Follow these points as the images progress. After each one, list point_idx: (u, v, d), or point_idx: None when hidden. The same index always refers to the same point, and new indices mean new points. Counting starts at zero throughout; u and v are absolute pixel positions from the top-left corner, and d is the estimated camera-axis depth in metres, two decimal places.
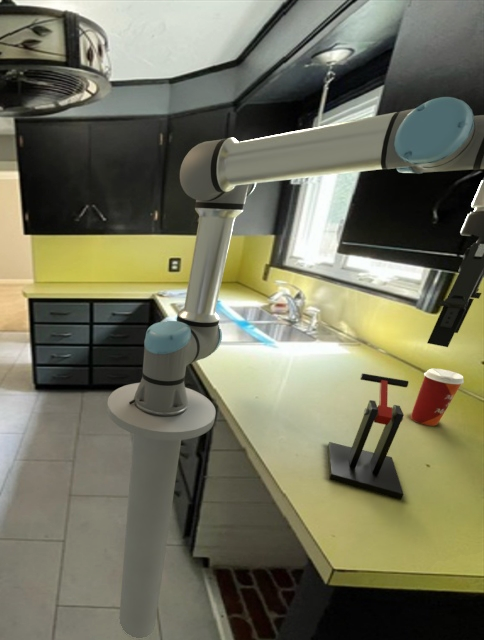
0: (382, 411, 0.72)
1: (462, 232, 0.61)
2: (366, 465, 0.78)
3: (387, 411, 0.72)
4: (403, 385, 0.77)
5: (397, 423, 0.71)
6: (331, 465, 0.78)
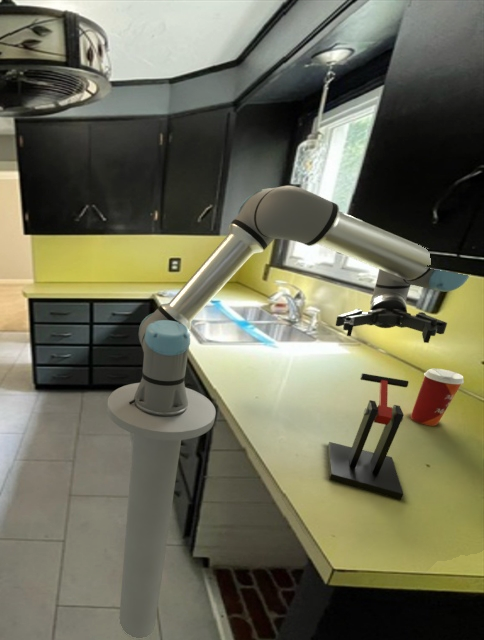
0: (382, 411, 0.72)
1: (399, 301, 0.91)
2: (366, 465, 0.78)
3: (387, 411, 0.72)
4: (403, 385, 0.77)
5: (397, 423, 0.71)
6: (331, 465, 0.78)
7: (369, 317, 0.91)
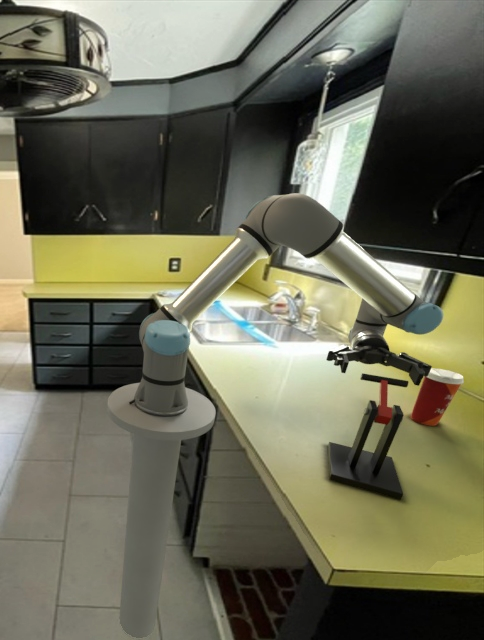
0: (382, 411, 0.72)
1: (383, 340, 0.94)
2: (366, 465, 0.78)
3: (387, 411, 0.72)
4: (403, 385, 0.77)
5: (397, 423, 0.71)
6: (331, 465, 0.78)
7: (357, 354, 0.92)
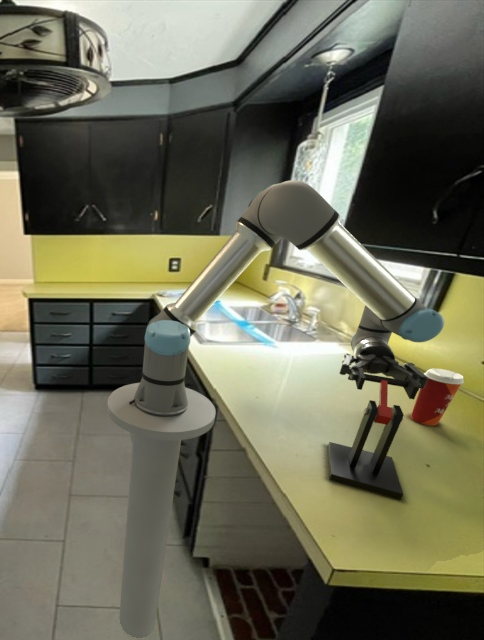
0: (382, 411, 0.72)
1: (388, 348, 0.88)
2: (366, 465, 0.78)
3: (387, 411, 0.72)
4: (403, 385, 0.77)
5: (397, 423, 0.71)
6: (331, 465, 0.78)
7: (366, 365, 0.85)
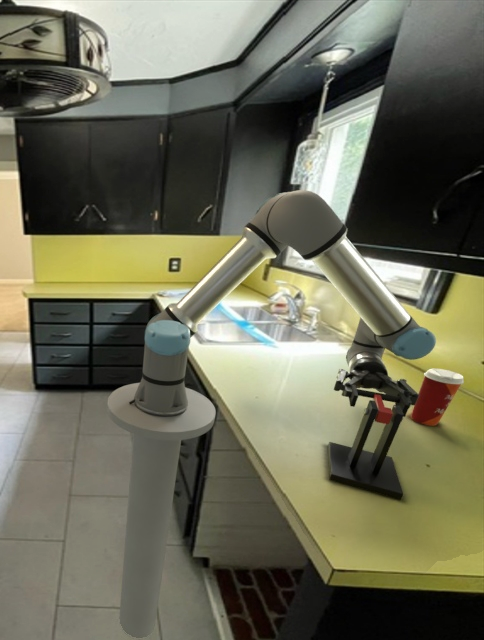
0: (382, 409, 0.73)
1: (381, 364, 0.90)
2: (366, 465, 0.78)
3: (387, 410, 0.73)
4: (396, 400, 0.79)
5: (397, 423, 0.71)
6: (331, 465, 0.78)
7: (360, 381, 0.88)
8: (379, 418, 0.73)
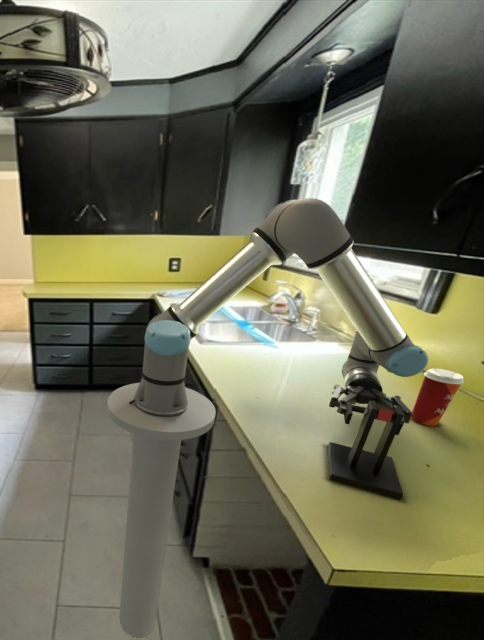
0: None
1: (376, 380, 0.91)
2: (366, 465, 0.78)
3: None
4: None
5: (397, 423, 0.71)
6: (331, 465, 0.78)
7: (355, 397, 0.89)
8: (380, 416, 0.72)
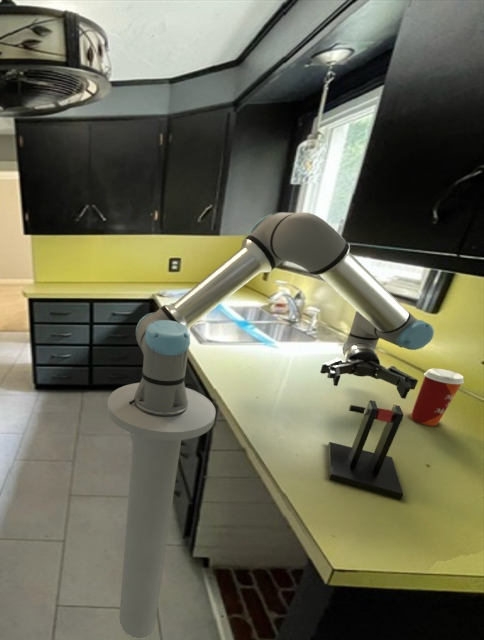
0: None
1: (373, 354, 1.00)
2: (366, 465, 0.78)
3: None
4: None
5: (397, 423, 0.71)
6: (331, 465, 0.78)
7: (349, 367, 0.98)
8: (380, 416, 0.72)
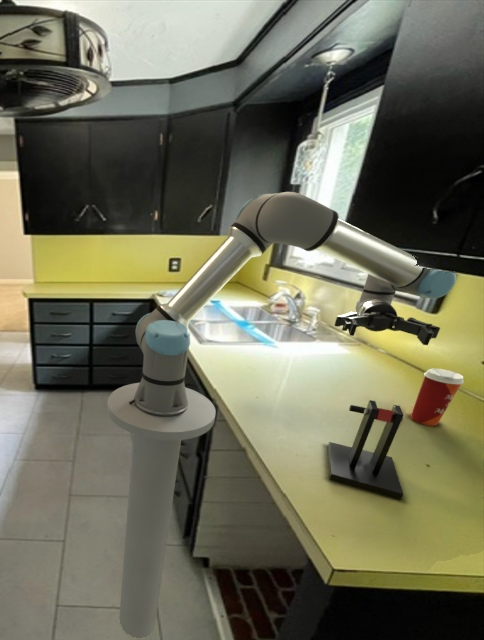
0: None
1: (390, 306, 0.95)
2: (366, 465, 0.78)
3: None
4: None
5: (397, 423, 0.71)
6: (331, 465, 0.78)
7: (365, 319, 0.93)
8: (380, 416, 0.72)
